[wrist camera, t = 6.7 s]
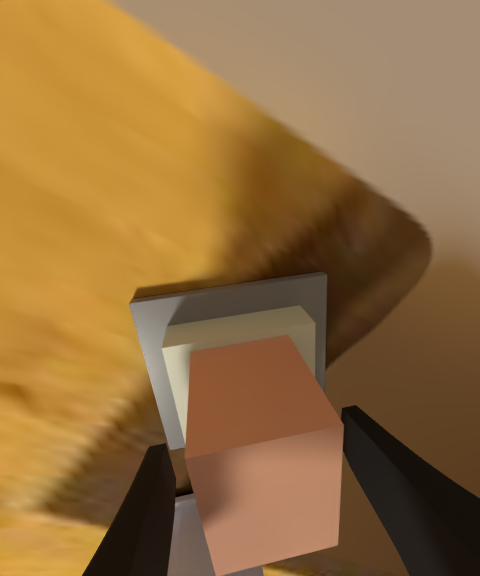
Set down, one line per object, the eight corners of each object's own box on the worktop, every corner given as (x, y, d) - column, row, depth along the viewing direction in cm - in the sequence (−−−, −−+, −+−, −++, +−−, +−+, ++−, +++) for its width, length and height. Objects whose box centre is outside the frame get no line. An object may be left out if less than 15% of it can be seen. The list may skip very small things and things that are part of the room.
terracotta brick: (292, 429, 14) (337, 545, 10) (210, 446, 14) (216, 576, 9) (288, 334, 12) (343, 424, 7) (190, 351, 12) (184, 459, 7)
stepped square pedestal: (320, 411, 18) (339, 446, 15) (171, 441, 17) (166, 483, 14) (322, 271, 14) (347, 288, 12) (131, 298, 13) (116, 323, 11)
